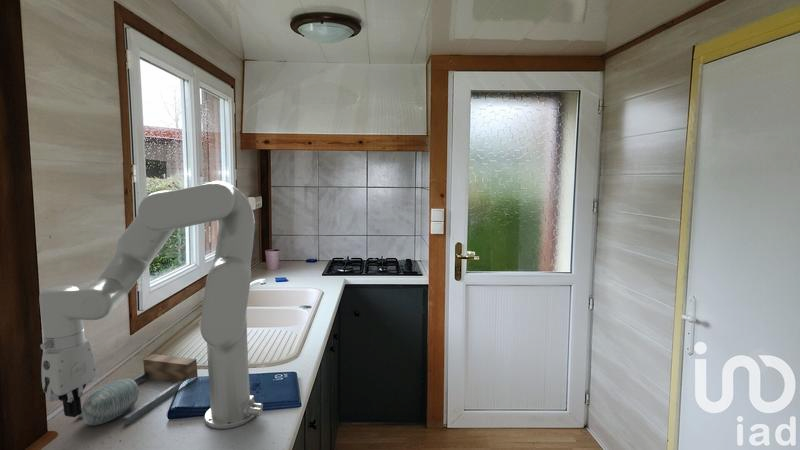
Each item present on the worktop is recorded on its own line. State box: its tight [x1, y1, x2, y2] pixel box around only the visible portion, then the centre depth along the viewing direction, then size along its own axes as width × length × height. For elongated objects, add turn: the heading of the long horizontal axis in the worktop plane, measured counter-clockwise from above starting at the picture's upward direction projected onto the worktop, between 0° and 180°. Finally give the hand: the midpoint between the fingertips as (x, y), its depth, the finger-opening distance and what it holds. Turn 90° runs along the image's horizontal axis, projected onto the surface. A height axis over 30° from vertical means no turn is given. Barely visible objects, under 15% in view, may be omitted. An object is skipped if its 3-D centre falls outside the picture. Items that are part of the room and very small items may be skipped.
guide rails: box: [77, 371, 188, 426], centre depth 126 cm, size 15×22×2 cm
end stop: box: [142, 353, 199, 383], centre depth 138 cm, size 15×4×6 cm, turn 76°
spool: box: [81, 378, 139, 426], centre depth 118 cm, size 14×10×10 cm
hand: (73, 414), depth 108 cm, fingers closed
